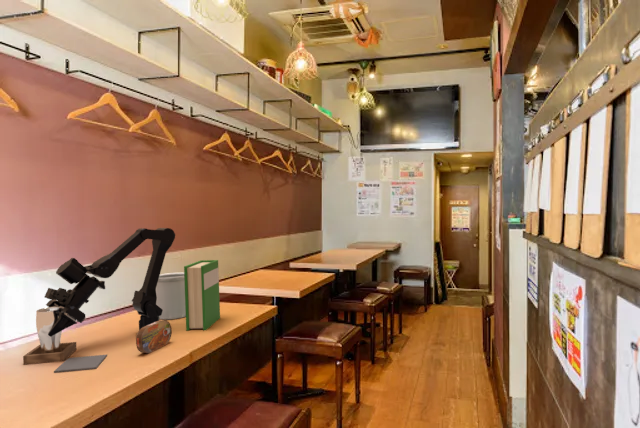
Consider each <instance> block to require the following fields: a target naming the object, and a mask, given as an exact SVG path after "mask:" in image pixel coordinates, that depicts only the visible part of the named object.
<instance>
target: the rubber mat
mask: <svg viewBox="0 0 640 428" xmlns="http://www.w3.org/2000/svg"><path fill="white" fill-rule="evenodd" d="M107 357H108V354H98V355H97V354H96V355H89V356H88V355H87V356H74V357H68V358H67V359H65V360H64V361H62V362H63V363H61V364H60V365H59V366H58V367H57V368H56V369H55V370H54V371H53V374H56V373H68V372H78V371H88V370H89V371H90V370H97V368H98V367H99V366H100V365H101V364H102V362H103V361H105V359H106V358H107Z"/></svg>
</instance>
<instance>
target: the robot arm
mask: <svg viewBox="0 0 640 428" xmlns="http://www.w3.org/2000/svg"><path fill="white" fill-rule="evenodd" d="M175 239H176V233H175V231H174V230H173V228H170V227H158V228H156V229H148V228H142V227H141V228H137V229H136V230H135V232H134V233H132V234H131V235H130V236H129V237H128V238H127V239H125V240H124V242H123V241H122V243H121V244H120V245H118V246H117V247H116V248H115V249H114V250H112V252H110V253H108V254H106V255H104V256H102V257H100V258H99V259H97V260H95V261H93V263H91V264H90V265H86V266H84V265H83V264H82V263H80V262H79V261H78V260H77V259H76V258H75V257H71V258H70V259H69V260H67V261H65V262H64V263H63V264H61V265H60V266H59V267H58V268H57V270H56V271H55V274H56V275H57V276H59V277H61V278H62V279H63V280H64V281H66V282H67V283H68V284H70V285H73V284H76V285H74V287H73V288H72V289H68V290H67V289H66V288H62V287H59V288H58V289H55V288H52V287H48V288H47V290H46V292H45V294H44V298H46V299H48V300H49V301H48V302H47V303H46V304H45V306H47V307H61V312H59V319H58V320H57V322H56V323H55V324H54V326H53V327H52V329H51V330H50V332H49V333H48V335H49V336H50V337H51V336H53V335H55V334H57V333H58V332H60V331H64V330H65V329H68V328H70V327H71V326H73V325H77V324H78V323H80V324H82V323H83V322H84V321H85V320H86V314H85V312H83V311H81V310H80V309H81V308H82V306H83V305H84V304H88V303H89V301H90V300H89V298H90V297H91V296H92V295H93V294H94V293H95V292H96V291H97V289H100V290H101V289H102V290H106V284H105V282H106V281H105V280H100V279H98V278H101V279H109V278H111V277H112V276H113V275H114V273H116V271H117V270H118V268H119V266H120V264H121V263H122V261H124V260H125V258H127V257H128V256H129V255H130V254H131V253H133V251H135V250H136V249H137V248H138V247H140V246H141V244H143V243H144V242H145V241H146V240H151V243H152V244H151V245H152V253H151V256H150V260H149V263H148V266H147V269H146V273H145V276H144V280H143V284H142V287H141V288H140V289H139V290H134V292H133V298H132V300H131V302H132V307H133V309H134V310H135V311H136V312H137V314H138V315H139V320H138V331H139V330H140V329H141V328H142V327H145V326H147V325H149V324H152V323H154V322H156V321H161V319H160V318H159V316H161V315H162V311H163V310H162V309H161V308H160V307H159V306H157V305H156V301H157V295H156V286H157V283H158V279H159V276H160V274H161V272H162V269H163V265H164V262H165V261H164V260H165V257H166V254H167V252H168V251H169V249H170V248H171V247H172V245H173V243H174V241H175ZM88 274H90V275H93V276H90V275H88Z"/></svg>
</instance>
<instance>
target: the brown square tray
mask: <svg viewBox="0 0 640 428" xmlns="http://www.w3.org/2000/svg"><path fill="white" fill-rule="evenodd" d="M60 344H61V350H62V352H56V353H45V354H40V352H41V345H40V344H38V345H37V346H36V347H34V348H33V349H32V350H30V351H29V352H27V353H26V354H25V355H23V356H22V358H23V360H22V362H23V365H24V366H25V365H33V364H34V365H35V364H45V363H58V362H65V361H66V360H67V359H68V358H70V356H72V354H73V353H74V352H75V351H77V341H72V342H71V341H70V342H60Z"/></svg>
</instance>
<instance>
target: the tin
mask: <svg viewBox="0 0 640 428" xmlns="http://www.w3.org/2000/svg"><path fill="white" fill-rule="evenodd" d="M172 332H173V330H172V325H171V323H170V321H168V319H167V320H164V319H161V320H160V321H156V322H154V323H152V324H149V325H147V326H145V327H142V328H141V329H140V330H139V329H138V331H137V333H136V337H135V344H136V348H137V351H138V352H139V353H142V354H143V353H144V354H151V353H153V352H155V351H157V350H159V349H162V347H165V346H166V345H168V343H170V340H171V338H172Z"/></svg>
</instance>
